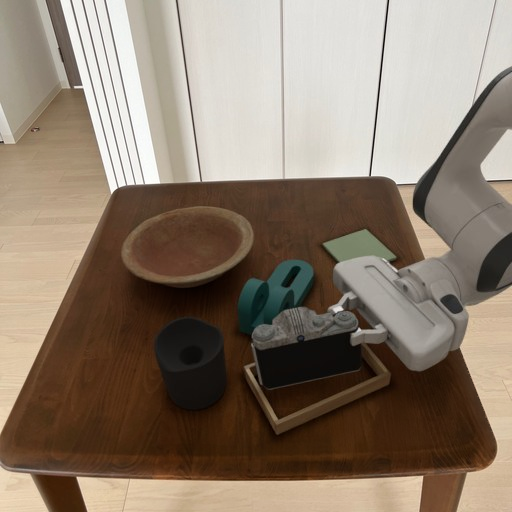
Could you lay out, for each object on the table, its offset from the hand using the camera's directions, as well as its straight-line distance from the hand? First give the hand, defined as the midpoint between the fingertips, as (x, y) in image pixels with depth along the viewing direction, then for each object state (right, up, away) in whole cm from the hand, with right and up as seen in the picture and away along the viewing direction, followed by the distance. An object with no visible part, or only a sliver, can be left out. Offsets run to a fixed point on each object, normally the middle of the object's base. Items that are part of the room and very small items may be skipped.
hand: (339, 326), depth 69 cm
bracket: (-7, +2, +19) cm, 20 cm away
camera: (-4, -6, +4) cm, 8 cm away
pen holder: (-20, -10, +6) cm, 23 cm away
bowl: (-23, +7, +26) cm, 36 cm away
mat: (+8, +10, +28) cm, 31 cm away
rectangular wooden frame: (-3, -9, +6) cm, 11 cm away
